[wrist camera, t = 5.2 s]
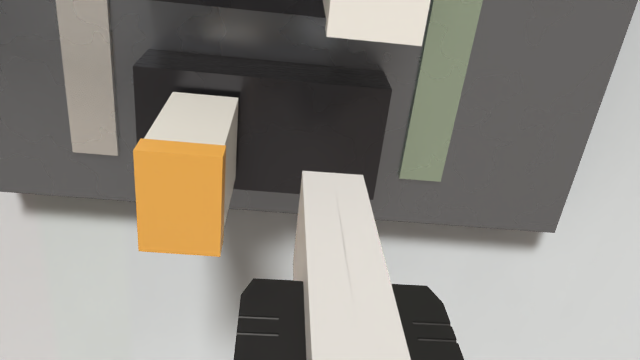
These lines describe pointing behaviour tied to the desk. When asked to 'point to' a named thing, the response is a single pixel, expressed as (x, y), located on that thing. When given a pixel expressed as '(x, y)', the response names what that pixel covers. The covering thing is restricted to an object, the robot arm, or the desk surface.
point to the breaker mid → (377, 20)
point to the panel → (489, 135)
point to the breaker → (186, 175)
